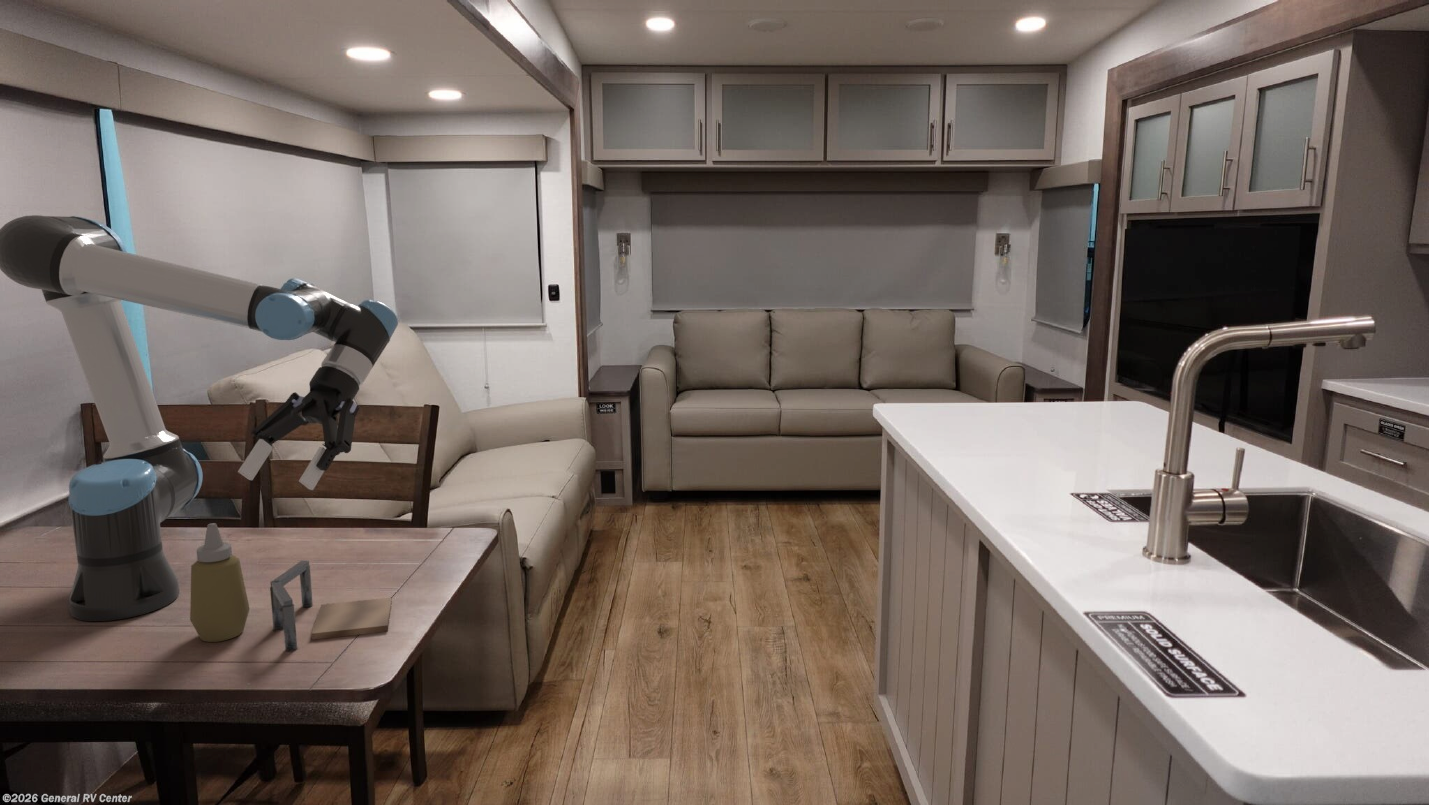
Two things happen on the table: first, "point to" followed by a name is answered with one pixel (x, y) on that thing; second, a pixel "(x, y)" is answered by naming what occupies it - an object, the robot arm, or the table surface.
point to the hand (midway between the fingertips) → (274, 481)
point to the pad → (352, 618)
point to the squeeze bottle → (217, 590)
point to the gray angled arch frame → (289, 601)
